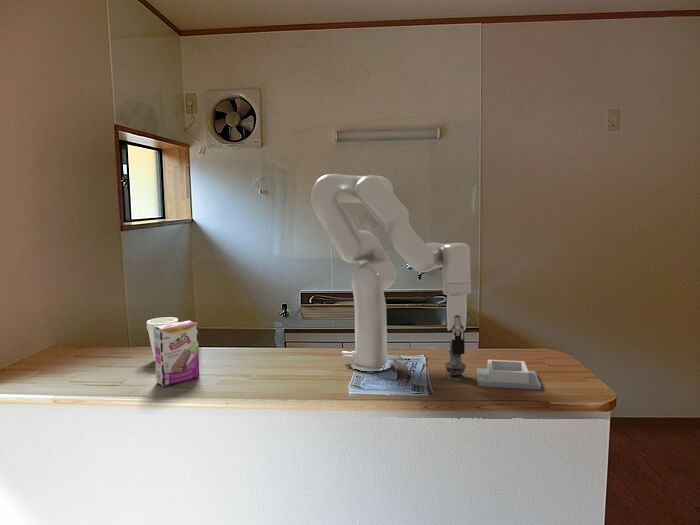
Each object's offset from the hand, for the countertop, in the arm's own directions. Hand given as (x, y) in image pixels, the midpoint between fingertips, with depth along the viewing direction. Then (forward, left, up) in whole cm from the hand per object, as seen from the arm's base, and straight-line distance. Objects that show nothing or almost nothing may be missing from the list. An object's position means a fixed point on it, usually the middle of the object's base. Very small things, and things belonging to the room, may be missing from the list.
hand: (458, 348), depth 143 cm
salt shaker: (-1, 0, -9) cm, 9 cm away
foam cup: (-93, +2, -9) cm, 93 cm away
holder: (+13, 0, -8) cm, 16 cm away
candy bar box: (-78, -15, -9) cm, 80 cm away
